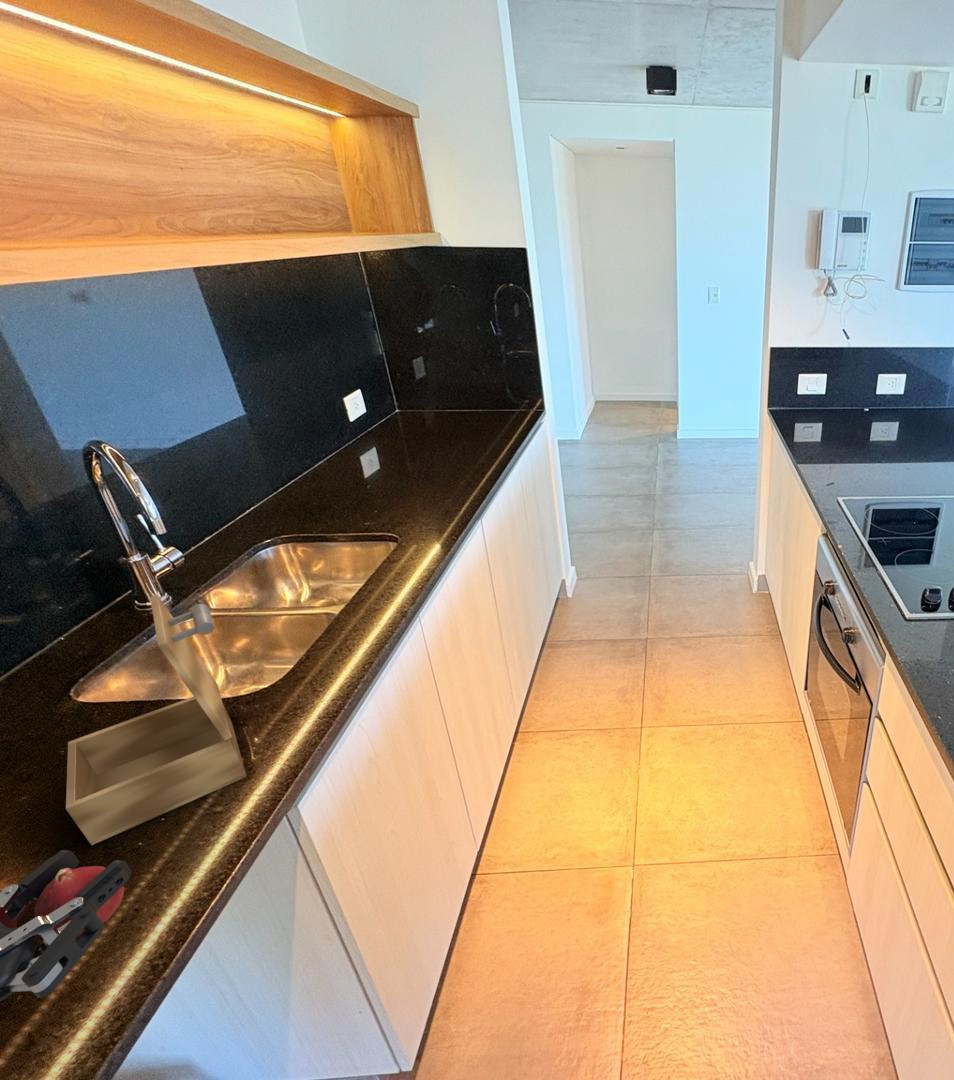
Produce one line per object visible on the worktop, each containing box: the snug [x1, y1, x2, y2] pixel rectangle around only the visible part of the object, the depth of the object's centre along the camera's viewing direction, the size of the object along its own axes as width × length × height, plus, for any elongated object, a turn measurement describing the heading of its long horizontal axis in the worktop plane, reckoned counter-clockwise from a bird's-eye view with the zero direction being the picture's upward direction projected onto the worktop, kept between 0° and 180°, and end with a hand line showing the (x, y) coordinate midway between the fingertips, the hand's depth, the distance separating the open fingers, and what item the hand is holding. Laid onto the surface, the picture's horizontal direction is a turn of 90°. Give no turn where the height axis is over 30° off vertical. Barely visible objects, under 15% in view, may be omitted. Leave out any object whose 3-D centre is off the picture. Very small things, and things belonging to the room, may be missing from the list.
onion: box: [33, 865, 126, 937], centre depth 58 cm, size 6×6×8 cm
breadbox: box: [65, 696, 247, 846], centre depth 82 cm, size 16×14×7 cm
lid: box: [149, 593, 232, 740], centre depth 81 cm, size 16×14×5 cm
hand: (97, 861), depth 59 cm, fingers closed on onion, 5 cm apart
